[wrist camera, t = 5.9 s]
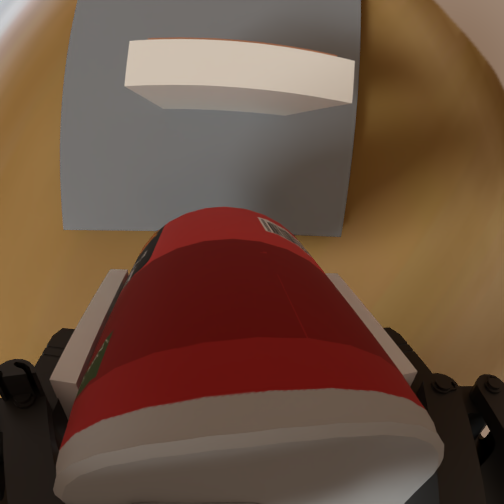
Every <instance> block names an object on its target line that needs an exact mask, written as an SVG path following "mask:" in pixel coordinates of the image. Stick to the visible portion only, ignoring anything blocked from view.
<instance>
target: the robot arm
mask: <svg viewBox="0 0 504 504" xmlns="http://www.w3.org/2000/svg"><path fill="white" fill-rule="evenodd" d="M326 275H327V277H328V278H329V279H330V280H331V282H332V283H333V284H334V285H335V287H336V288H337V289H338V290H339V292H340V293H341V294H342V296H343V297H344V298H345V299H346V301H347V302H348V303H349V304H350V306H351V307H352V308H353V310H354V311H355V312H356V313H357V315H358V316H359V317H360V319H361V320H362V321H363V323H364V324H365V325H366V326H367V328H368V329H369V330H370V332H371V333H372V334H373V336H374V337H375V338H376V340H377V341H378V342H379V344H380V345H381V346H382V348H383V349H384V350H385V352H386V353H387V354H388V356H389V357H390V358H391V360H392V361H393V362H394V364H395V365H396V366H397V368H398V369H399V370H400V372H401V373H402V375H403V376H404V378H405V380H406V381H407V383H408V384H409V386H410V387H411V389H412V391H413V392H414V393H415V395H416V396H417V398H418V399H419V401H420V402H421V403H422V405H423V406H424V408H425V409H426V411H427V412H428V414H429V416H430V417H431V419H432V421H433V422H434V425H435V428H436V432H437V434H438V435H439V437H440V439H441V440H442V442H443V444H444V457H443V460H442V462H441V464H440V466H439V467H438V469H437V470H436V471H435V473H434V474H433V475H432V476H431V477H430V478H429V479H428V480H427V481H426V482H425V483H424V484H423V485H422V486H421V487H420V488H419V489H418V490H417V491H416V492H415V493H414V494H413V495H412V496H411V497H410V498H409V499H408V500H407V501H406V502H405V503H404V504H504V383H503V382H502V381H501V380H500V379H499V378H497V377H496V376H493V375H488V374H484V375H481V376H479V378H478V379H477V381H476V382H475V384H474V386H458V385H457V383H456V382H455V381H454V380H453V379H452V378H450V377H448V376H446V375H443V374H439V373H435V374H432V372H431V371H430V370H429V369H428V367H427V366H426V365H425V364H424V363H423V361H422V360H421V359H420V358H419V356H418V355H417V354H416V353H415V352H414V351H413V349H412V348H411V347H410V346H409V345H407V342H406V341H405V340H404V339H403V337H402V336H401V335H400V334H399V333H397V332H395V331H394V330H392V329H391V328H383V327H382V326H381V325H380V324H379V323H378V321H377V320H376V319H375V318H374V316H373V315H372V314H371V313H370V312H369V310H368V309H367V308H366V307H365V306H364V304H363V303H362V302H361V301H360V300H359V298H358V297H357V296H356V295H355V294H354V293H353V291H352V290H351V289H350V288H349V287H348V285H347V284H346V283H345V282H344V281H343V280H342V278H341V277H340V276H339V275H338V274H326ZM127 278H128V270H119V269H110V271H109V272H108V274H107V276H106V277H105V279H104V280H103V282H102V284H101V285H100V287H99V289H98V290H97V292H96V294H95V295H94V297H93V299H92V300H91V302H90V304H89V306H88V307H87V309H86V311H85V313H84V314H83V316H82V318H81V320H80V321H79V323H78V325H77V327H76V329H67V328H62V329H61V330H60V331H58V332H57V333H56V334H55V335H53V336H52V338H51V340H50V341H49V343H48V345H47V348H45V350H44V351H43V353H42V356H41V357H40V358H39V360H38V362H37V364H36V365H35V367H34V366H33V365H32V364H31V363H30V362H29V361H26V360H23V359H13V360H10V361H6V362H5V363H3V364H1V365H0V395H1V397H2V398H0V504H65V503H64V502H63V501H62V500H61V499H60V498H58V497H57V496H56V495H55V494H54V491H53V488H54V483H55V479H56V462H57V458H58V454H59V450H60V447H61V443H62V440H63V437H64V434H65V431H66V428H67V424H68V420H69V417H70V413H71V410H72V407H73V404H74V401H75V398H76V396H77V393H78V390H79V388H80V385H81V382H82V380H83V377H84V375H85V372H86V370H87V367H88V365H89V362H90V360H91V358H92V355H93V353H94V350H95V348H96V346H97V343H98V341H99V339H100V336H101V334H102V332H103V330H104V327H105V325H106V323H107V321H108V318H109V316H110V314H111V312H112V310H113V308H114V305H115V303H116V301H117V299H118V297H119V295H120V293H121V291H122V289H123V287H124V285H125V283H126V281H127ZM486 425H487V426H488V428H489V430H490V432H489V434H488V435H487V436H486V437H485V438H483V437H482V436H481V434H480V433H481V432H482V430H483V429H484V428H485V426H486Z"/></svg>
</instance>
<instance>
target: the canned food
mask: <svg viewBox="0 0 504 504" xmlns="http://www.w3.org/2000/svg"><path fill="white" fill-rule="evenodd" d="M443 457H444V444H443V442H442V440H441V439H440V437H439V435H438V434H437V432H436V428H435V425H434V422H433V421H432V419H431V417H430V416H429V414H428V412H427V411H426V409H425V408H424V406H423V405H422V403H421V402H420V401H419V399H418V398H417V396H416V395H415V393H414V392H413V391H412V389H411V387H410V386H409V384H408V383H407V381H406V380H405V378H404V376H403V375H402V373H401V372H400V370H399V369H398V368H397V366H396V365H395V364H394V362H393V361H392V360H391V358H390V357H389V356H388V354H387V353H386V352H385V350H384V349H383V348H382V346H381V345H380V344H379V342H378V341H377V340H376V338H375V337H374V336H373V334H372V333H371V332H370V330H369V329H368V328H367V326H366V325H365V324H364V323H363V321H362V320H361V319H360V317H359V316H358V315H357V313H356V312H355V311H354V310H353V308H352V307H351V306H350V304H349V303H348V302H347V301H346V299H345V298H344V297H343V296H342V294H341V293H340V292H339V290H338V289H337V288H336V287H335V285H334V284H333V283H332V282H331V280H330V279H329V278H328V277H327V275H326V274H325V273H324V272H323V270H322V269H321V268H320V267H319V265H318V264H317V263H316V262H315V260H314V259H313V258H312V257H311V255H310V254H309V253H308V252H307V251H306V249H305V248H304V247H303V246H302V244H301V243H300V242H299V241H298V240H297V238H296V237H295V236H294V235H293V234H292V233H291V232H290V231H288V230H287V229H286V228H285V227H284V226H282V225H281V224H280V223H278V222H276V221H275V220H273V219H271V218H269V217H267V216H265V215H263V214H260V213H257V212H254V211H251V210H247V209H242V208H233V207H213V208H204V209H200V210H197V211H193V212H189V213H186V214H184V215H182V216H180V217H178V218H176V219H174V220H172V221H170V222H168V223H167V224H166V225H165V226H163V227H162V228H161V229H160V230H158V231H157V232H156V233H155V234H154V235H153V236H152V237H151V238H150V240H149V241H148V242H147V243H146V245H145V246H144V247H143V249H142V251H141V253H140V255H139V257H138V259H137V261H136V263H135V265H134V266H133V268H132V270H131V272H130V274H129V276H128V278H127V281H126V283H125V285H124V287H123V289H122V291H121V293H120V295H119V297H118V299H117V301H116V303H115V305H114V308H113V310H112V312H111V314H110V316H109V318H108V321H107V323H106V325H105V327H104V330H103V332H102V334H101V336H100V339H99V341H98V343H97V346H96V348H95V350H94V353H93V355H92V358H91V360H90V362H89V365H88V367H87V370H86V372H85V375H84V377H83V380H82V382H81V385H80V388H79V390H78V393H77V396H76V398H75V401H74V404H73V407H72V410H71V413H70V417H69V420H68V424H67V428H66V431H65V434H64V437H63V440H62V443H61V447H60V450H59V454H58V458H57V462H56V479H55V483H54V488H53V491H54V494H55V495H56V496H57V497H58V498H60V499H61V500H62V501H63V502H64V503H65V504H404V503H405V502H406V501H407V500H408V499H409V498H410V497H411V496H412V495H413V494H414V493H415V492H416V491H417V490H418V489H419V488H420V487H421V486H422V485H423V484H424V483H425V482H426V481H427V480H428V479H429V478H430V477H431V476H432V475H433V474H434V473H435V471H436V470H437V469H438V467H439V466H440V464H441V462H442V460H443Z"/></svg>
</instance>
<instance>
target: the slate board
mask: <svg viewBox="0 0 504 504" xmlns="http://www.w3.org/2000/svg"><path fill="white" fill-rule="evenodd" d="M360 35H361V0H78V1H77V5H76V10H75V14H74V19H73V24H72V29H71V35H70V41H69V47H68V53H67V60H66V68H65V76H64V86H63V97H62V111H61V132H60V180H61V202H62V216H63V228H64V230H133V231H158V230H160V229H161V228H162V227H163V226H165V225H166V224H167V223H168V222H170V221H172V220H174V219H176V218H178V217H180V216H182V215H184V214H186V213H189V212H193V211H197V210H200V209H204V208H213V207H233V208H242V209H247V210H251V211H254V212H257V213H260V214H263V215H265V216H267V217H269V218H271V219H273V220H275V221H276V222H278V223H280V224H281V225H282V226H284V227H285V228H286V229H287V230H288V231H290V232H291V233H292V234H293V235H309V236H333V237H341V233H342V227H343V221H344V214H345V207H346V200H347V193H348V185H349V178H350V170H351V161H352V152H353V143H354V133H355V122H356V110H357V97H358V82H359V63H360ZM175 37H185V38H218V39H233V40H245V41H255V42H264V43H272V44H279V45H286V46H292V47H298V48H304V49H309V50H315V51H320V52H325V53H329V54H334V55H337V57H340V58H345V59H349V60H353V61H355V67H354V84H353V99H352V104H346V105H339V106H333V107H328V108H322V109H317V110H311V111H306V112H301V113H296V114H291V115H287V116H283V115H274V114H264V113H253V112H240V111H224V110H202V109H163V108H161V107H159V106H158V105H156V104H154V103H153V102H151V101H149V100H147V99H146V98H144V97H142V96H141V95H139V94H137V93H135V92H134V91H132V90H130V89H128V88H127V87H125V86H124V85H125V75H126V66H127V57H128V49H129V42H130V41H135V40H148V38H175Z"/></svg>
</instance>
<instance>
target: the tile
mask: <svg viewBox="0 0 504 504" xmlns="http://www.w3.org/2000/svg"><path fill="white" fill-rule="evenodd" d="M354 67H355V61H353V60H349V59H345V58H340V57H337V55H334V54H329V53H325V52H320V51H315V50H309V49H304V48H298V47H292V46H286V45H279V44H272V43H264V42H255V41H245V40H233V39H218V38H185V37H175V38H148V40H135V41H130V42H129V49H128V57H127V66H126V75H125V85H124V86H125V87H127V88H128V89H130V90H132V91H134V92H135V93H137V94H139V95H141V96H142V97H144V98H146V99H147V100H149V101H151V102H153V103H154V104H156V105H158V106H159V107H161V108H163V109H202V110H224V111H240V112H253V113H264V114H274V115H283V116H287V115H291V114H296V113H301V112H306V111H311V110H317V109H322V108H328V107H333V106H339V105H346V104H352V99H353V84H354Z"/></svg>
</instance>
